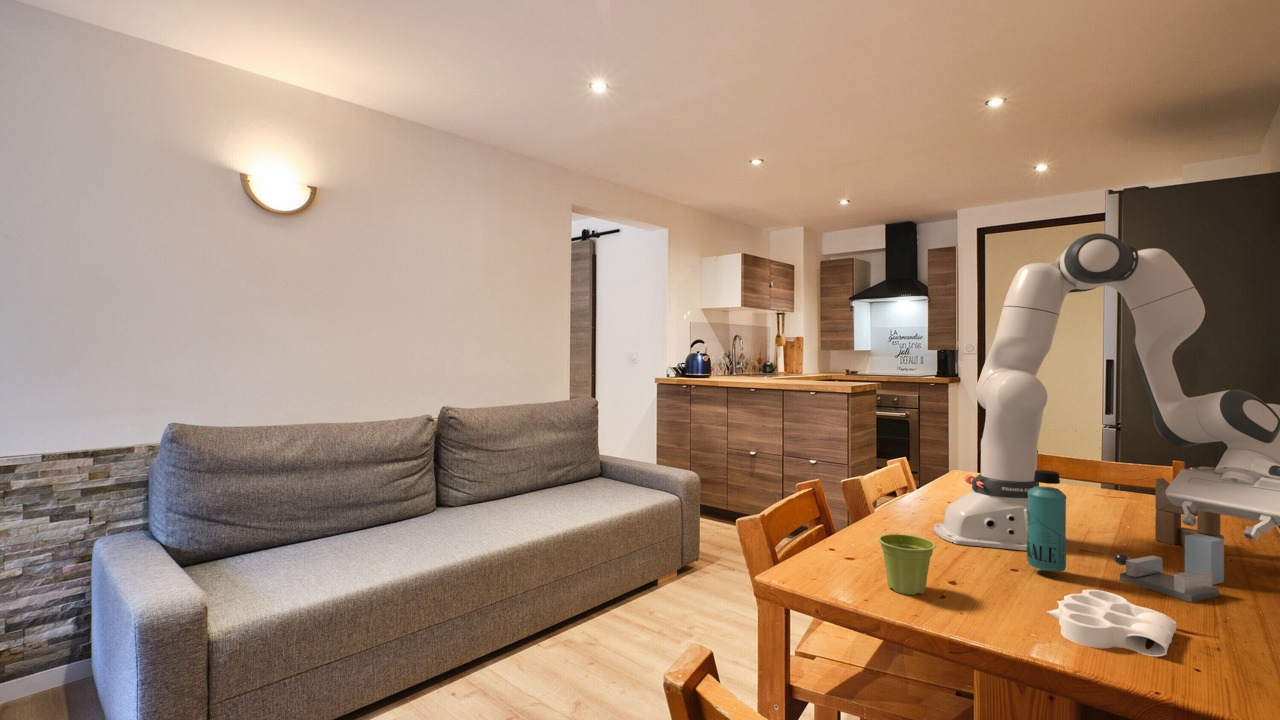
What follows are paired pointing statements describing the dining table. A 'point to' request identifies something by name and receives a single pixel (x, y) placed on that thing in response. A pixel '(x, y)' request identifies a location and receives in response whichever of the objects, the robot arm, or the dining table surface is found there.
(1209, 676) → the dining table surface
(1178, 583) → the vise
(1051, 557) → the beverage bottle
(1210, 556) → the steel block
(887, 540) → the plant pot
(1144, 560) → the free jaw
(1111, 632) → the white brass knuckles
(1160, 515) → the brown wooden angled piece
